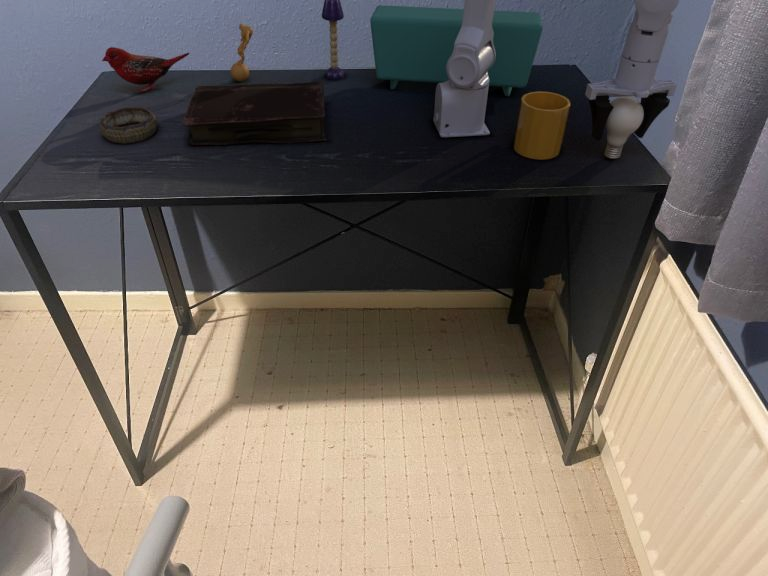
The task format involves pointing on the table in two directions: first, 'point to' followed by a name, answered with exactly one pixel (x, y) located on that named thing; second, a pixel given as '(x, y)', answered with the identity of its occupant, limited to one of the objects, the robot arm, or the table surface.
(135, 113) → the decorative ring
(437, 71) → the radio
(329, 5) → the toy lamp
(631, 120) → the lightbulb
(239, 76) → the figurine
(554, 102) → the mug
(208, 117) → the diary
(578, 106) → the table surface
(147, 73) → the decorative bird figurine
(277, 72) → the table surface
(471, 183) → the table surface
